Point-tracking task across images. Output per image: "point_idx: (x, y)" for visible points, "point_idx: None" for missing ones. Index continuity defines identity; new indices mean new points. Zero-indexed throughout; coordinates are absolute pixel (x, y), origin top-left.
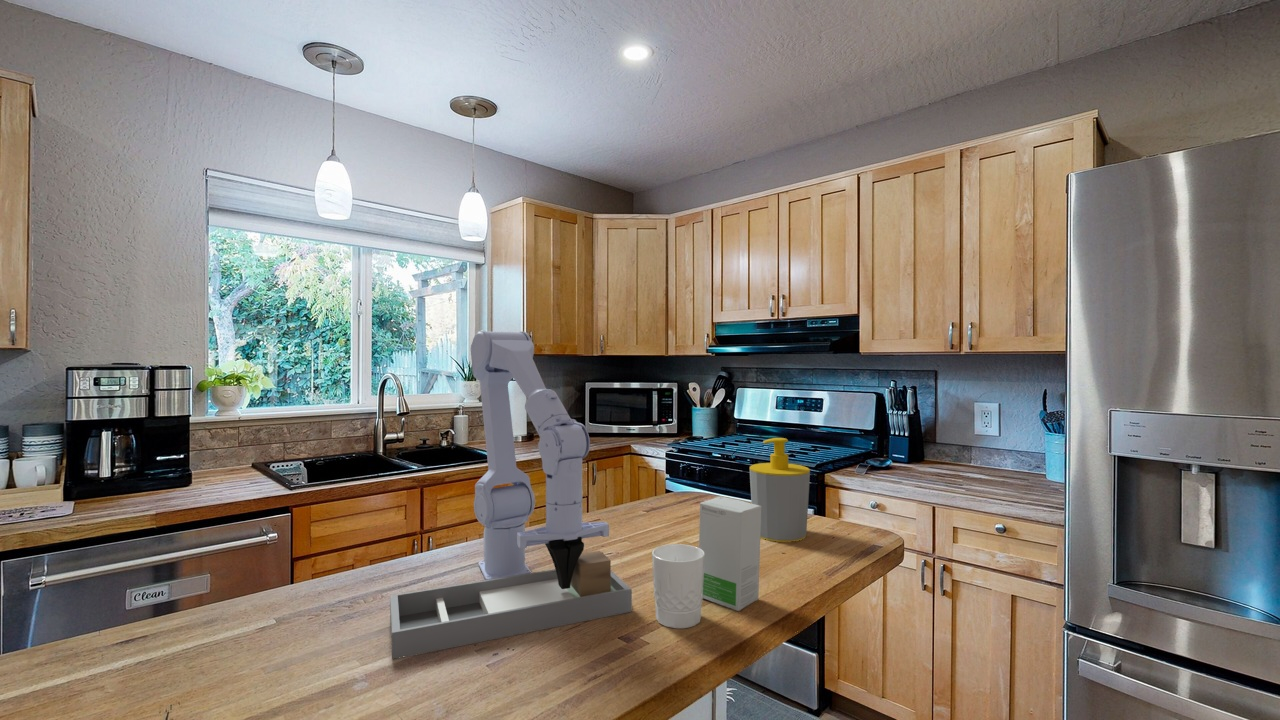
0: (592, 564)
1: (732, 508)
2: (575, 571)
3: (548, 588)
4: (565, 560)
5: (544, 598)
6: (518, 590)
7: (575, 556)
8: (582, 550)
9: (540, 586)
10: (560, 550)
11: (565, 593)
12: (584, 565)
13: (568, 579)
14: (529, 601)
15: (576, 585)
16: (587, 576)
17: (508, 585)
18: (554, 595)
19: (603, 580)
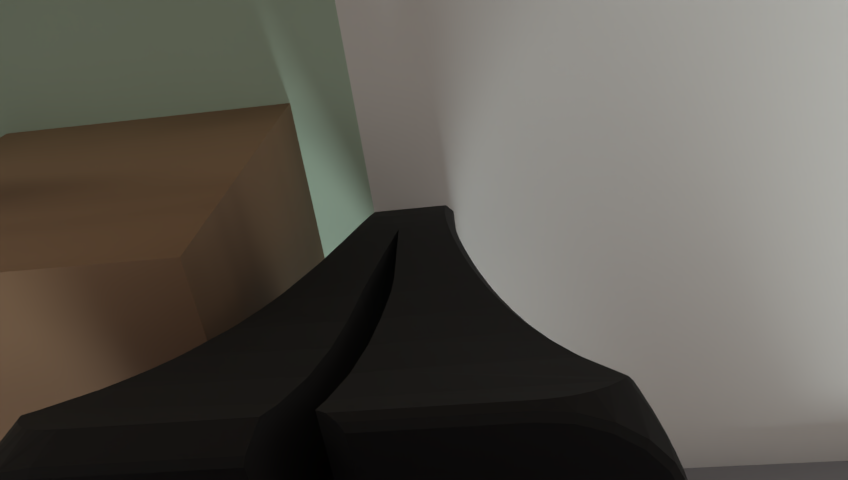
0: (15, 262)
1: None
2: None
3: None
4: (395, 337)
5: (621, 172)
6: (783, 385)
7: (214, 364)
8: (39, 410)
9: None
10: (507, 403)
11: None
12: (128, 256)
13: (378, 236)
14: (773, 150)
15: (303, 244)
16: (151, 189)
17: (840, 470)
18: (519, 205)
19: (7, 175)
